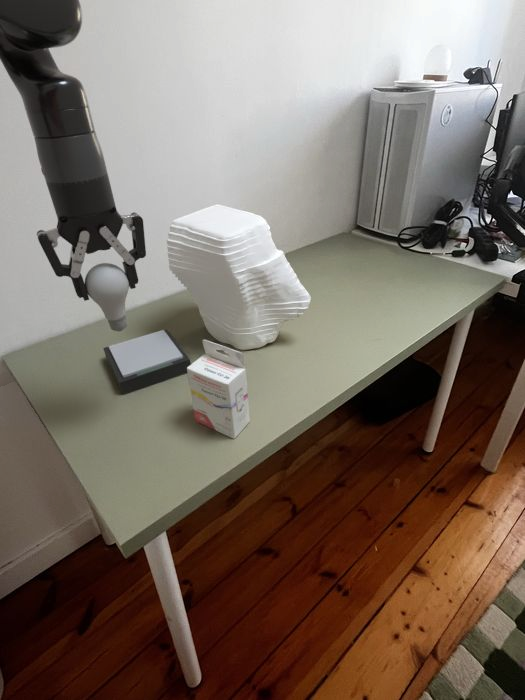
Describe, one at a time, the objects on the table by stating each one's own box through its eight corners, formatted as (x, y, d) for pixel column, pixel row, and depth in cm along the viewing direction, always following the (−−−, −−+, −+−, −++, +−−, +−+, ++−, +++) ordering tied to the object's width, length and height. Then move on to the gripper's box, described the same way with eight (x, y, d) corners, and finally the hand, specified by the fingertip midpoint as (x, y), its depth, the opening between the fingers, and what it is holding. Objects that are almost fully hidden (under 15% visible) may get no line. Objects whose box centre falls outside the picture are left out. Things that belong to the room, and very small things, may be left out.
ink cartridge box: (194, 422, 75) (181, 352, 67) (212, 405, 78) (201, 336, 70) (234, 440, 71) (226, 367, 62) (251, 422, 74) (245, 351, 66)
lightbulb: (133, 316, 71) (117, 253, 65) (145, 332, 67) (128, 266, 61) (95, 328, 69) (75, 263, 63) (105, 345, 64) (84, 277, 58)
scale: (123, 395, 82) (118, 380, 80) (106, 359, 92) (102, 345, 90) (192, 371, 87) (189, 356, 85) (169, 340, 98) (166, 326, 96)
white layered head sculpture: (240, 300, 112) (231, 199, 98) (314, 341, 94) (316, 224, 80) (168, 329, 102) (146, 220, 87) (235, 382, 84) (222, 255, 69)
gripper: (15, 188, 49) (62, 316, 59) (139, 169, 55) (164, 289, 64) (13, 177, 55) (55, 295, 64) (125, 160, 60) (149, 272, 70)
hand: (109, 292), depth 64 cm, fingers closed on lightbulb, 6 cm apart
